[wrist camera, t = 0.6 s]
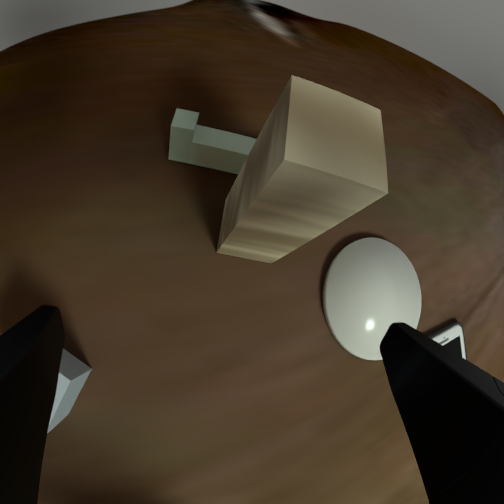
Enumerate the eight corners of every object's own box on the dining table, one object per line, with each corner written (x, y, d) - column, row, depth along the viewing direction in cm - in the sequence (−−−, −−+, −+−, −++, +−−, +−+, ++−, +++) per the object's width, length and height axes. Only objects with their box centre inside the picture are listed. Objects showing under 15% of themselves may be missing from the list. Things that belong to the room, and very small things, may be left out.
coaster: (431, 295, 26) (435, 295, 25) (376, 383, 23) (381, 384, 22) (367, 216, 26) (371, 214, 25) (297, 300, 22) (300, 299, 22)
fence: (333, 199, 25) (363, 177, 21) (168, 159, 22) (170, 125, 18) (334, 183, 26) (362, 160, 21) (173, 143, 23) (176, 108, 18)
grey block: (92, 368, 18) (70, 380, 13) (68, 413, 16) (44, 436, 12) (45, 334, 17) (14, 335, 13) (23, 379, 16) (-10, 391, 11)
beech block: (271, 263, 23) (387, 193, 10) (216, 252, 22) (284, 159, 9) (277, 211, 24) (380, 110, 11) (225, 199, 23) (291, 74, 10)
